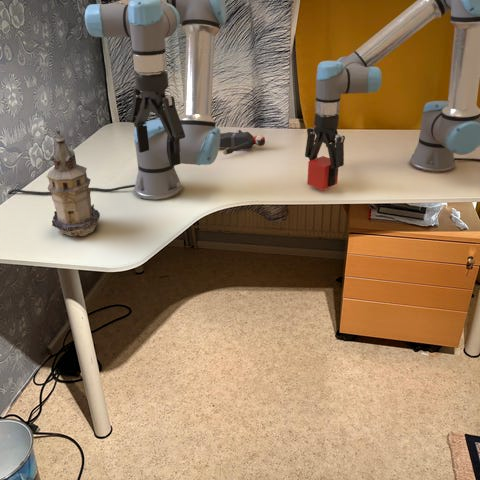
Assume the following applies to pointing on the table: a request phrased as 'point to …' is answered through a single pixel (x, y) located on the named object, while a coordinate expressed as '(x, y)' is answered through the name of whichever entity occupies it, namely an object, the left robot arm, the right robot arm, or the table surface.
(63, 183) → the miniature building
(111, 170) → the table surface
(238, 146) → the toy
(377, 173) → the table surface
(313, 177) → the red cube
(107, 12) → the left robot arm
